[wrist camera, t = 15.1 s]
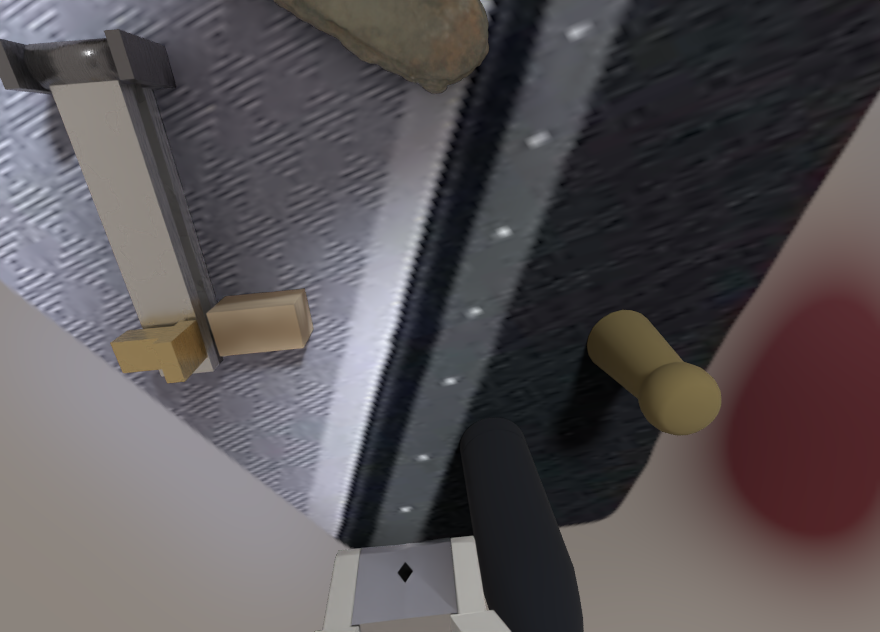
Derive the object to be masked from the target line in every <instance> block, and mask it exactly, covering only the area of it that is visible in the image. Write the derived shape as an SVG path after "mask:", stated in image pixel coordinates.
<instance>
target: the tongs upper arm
mask: <svg viewBox="0 0 880 632" xmlns="http://www.w3.org/2000/svg"><path fill="white" fill-rule="evenodd" d="M24 60H25V63H26V66H27V68H28V70H29V72H30V73H31V75H32V76H33V78H34V79H35V80H36V81H37V82H38V83H39V84H40V85H41V86H42V87H44V88H46V89H48V90H51V92H52V94H53V97H54V99H55V102H56V105H57V107H58V110H59V112H60V115H61V118H62V120H63V123H64V125H65V128H66V131H67V133H68V136H69V138H70V141H71V144H72V146H73V149H74V151H75V154H76V157H77V159H78V162H79V164H80V167H81V170H82V172H83V175H84V177H85V180H86V183H87V185H88V188H89V190H90V193H91V196H92V198H93V201H94V203H95V206H96V208H97V211H98V214H99V216H100V219H101V221H102V224H103V227H104V229H105V232H106V234H107V237H108V240H109V242H110V245H111V247H112V250H113V253H114V255H115V258H116V260H117V263H118V266H119V268H120V271H121V273H122V276H123V279H124V281H125V284H126V286H127V289H128V292H129V294H130V297H131V299H132V302H133V304H134V307H135V310H136V312H137V315H138V317H139V320H140V323H141V325H142V328H143V329H149V328H160V327H170V326H175V325H176V324H177V323H178V322H181V321H191V320H196V321H197V324H198V327H199V330H200V333H201V337H202V340H203V343H204V346H205V349H206V352H207V355H208V357H207V358H206V359H205V360H204V361H203V362H202V364H201V365H200V366H199V367H198V368H197V369H196V370H195V371H194V372H193V373H203V372H213V371H214V370H215V369H216V368H217V367H218V366H219V364H220V363H221V362H222V361H223V357H222V356H220V355H219V352H218V348H217V345H216V342H215V339H214V338H211V334H210V331H209V328H208V325H207V322H206V319H205V316H204V313H203V309H202V306H201V303H200V300H199V297H198V294H197V291H196V288H195V284H194V281H193V278H192V275H191V272H190V269H189V266H188V262H187V259H186V256H185V253H184V250H183V247H182V244H181V241H180V237H179V234H178V231H177V228H176V225H175V222H174V219H173V216H172V212H171V209H170V206H169V203H168V200H167V197H166V194H165V191H164V187H163V184H162V181H161V178H160V175H159V172H158V169H157V165H156V162H155V159H154V156H153V153H152V150H151V147H150V144H149V140H148V137H147V134H146V131H145V128H144V125H143V122H142V119H141V115H140V112H139V109H138V106H137V103H136V100H135V97H134V93H133V90H132V87H131V84H135V83H134V82H128V81H123V80H120V78H119V75H118V72H117V69H116V66H115V63H114V60H113V57H112V53H111V50H110V47H109V44H108V41H107V38H102V39H89V40H76V41H64V42H51V43H38V44H29V45H27V46H26V47H25V48H24ZM159 372H160V375H161V377H164V374H163V371H162V369H160V370H159ZM193 373H192V374H193Z"/></svg>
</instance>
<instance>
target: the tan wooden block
mask: <svg viewBox="0 0 880 632" xmlns="http://www.w3.org/2000/svg"><path fill="white" fill-rule="evenodd" d="M206 314H207V317H208V320H209V323H210V326H211V330H212V333H213V336H214V339H215V342H216V345H217V348H218V352H219V355H220V356H229V355H239V354H249V353H259V352H269V351H279V350H289V349H299V348H304V347H305V345H306V343H307V341H308V339H309V337H310V335H311V333H312V331H313V324H312V320H311V315H310V310H309V306H308V301H307V296H306V292H305V289H296V290H285V291H275V292H265V293H254V294H244V295H234V296H225V297H224V298H223V299H222V300H221V301H220V302H218V303H217V304H216V305H215V306H214V307H213V308H212V309H211V310H209V311H208V312H207V313H206Z"/></svg>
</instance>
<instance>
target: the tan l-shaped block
mask: <svg viewBox="0 0 880 632" xmlns="http://www.w3.org/2000/svg"><path fill="white" fill-rule="evenodd" d="M110 344H111V346H112V348H113V351H114V353H115V355H116V358H117V360H118V363H119V365H120V367H121V370H122V372H123V373H130V372H140V371H150V370H160V369H162V371H163V374H164V376H165V379H166V381H167V383H175V382H185V381H186V380H187V379H188V378H189V377H190V376H191V375H192V373H193V372H194V371H195V370H196V369H197V368H198V367H199V366H200V365H201V364H202V362H203V361H204V360H205V359H206V358H207V357H208V355H207V352H206V349H205V346H204V343H203V340H202V337H201V333H200V330H199V327H198V324H197V321H196V320H191V321H181V322H178V323H177V324H176V325H175V326H170V327H160V328H149V329H139V330H129V331H126V332H125V333H124V334H122V335H121V336H119V337H118V338H116V339H115V340H114V341H112V342H111V343H110Z"/></svg>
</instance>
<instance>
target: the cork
mask: <svg viewBox="0 0 880 632" xmlns="http://www.w3.org/2000/svg"><path fill="white" fill-rule="evenodd" d="M587 349H588V355H589V356H590V358H591V360H592V361H593V362H594V363H595V364H596V365H597V366H599V367H600V368H601V369H602V370H604V371H605V372H606V373H607V374H608V375H610V376H611V377H612V378H613V379H615V380H616V381H617V382H618V383H619V384H621V385H622V386H623V387H624V388H626V389H627V390H628V391H629V392H630V393H632V394H633V395H634V396H635V397H637V398H638V399H639V405H640V408H641V411H642V412H643V414H644V416H645V417H646V419H647V420H648V421H649V422H650V423H651V424H652V425H653V426H655V427H656V428H658V429H659V430H661V431H662V432H665V433H669V434H673V435H688V434H692V433H696V432H698V431H700V430H702V429H704V428H705V427H706V426H708V425H709V424H710V423H711V422H712V421H713V420H714V418H715V417H716V416H717V414H718V413H719V409H720V407H721V392H720V389H719V387H718V385H717V383H716V382H715V380H714V379H713V377H711V376H710V375H709V374H708V373H707V372H705V371H704V370H703V369H701V368H700V367H697V366H695V365H692V364H689V363H686V362H683V361H682V360H681V358H680V357H679V356H678V355H677V354H676V352H675V351H674V350H673V349H672V348H671V346H670V345H669V344H668V343H667V342H666V340H665V339H664V338H663V337H662V336H661V334H660V333H659V332H658V331H657V330H656V329H655V327H654V326H653V325H652V324H651V323H650V321H649V320H648V319H647V318H646V317H644V316H643V315H642V314H641V313H638V312H635V311H632V310H621V311H617V312H614V313H610V314H609V315H607V316H605V317H604V318H602V319H601V320H600V321H599V322H598V323H597V324H596V325H595V326H594V327H593V329H592V331H591V333H590V335H589V337H588V342H587Z"/></svg>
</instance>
